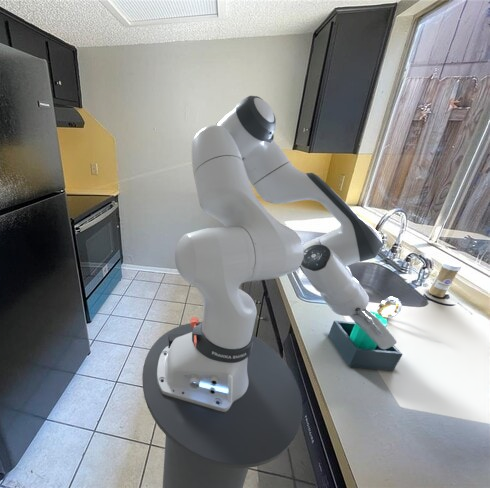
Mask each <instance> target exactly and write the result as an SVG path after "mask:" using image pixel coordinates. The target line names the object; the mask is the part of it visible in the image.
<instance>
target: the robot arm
mask: <svg viewBox="0 0 490 488" xmlns="http://www.w3.org/2000/svg"><path fill="white" fill-rule="evenodd" d="M276 119H277V118H276V115H275V113H274V111H273V109H272V107H271V106H270V104H269V103H268V102H267V101H266V100H264V99H263V98H261V97H260V96H257V95H248V96H246V97H245V98H243V99H242V100H241V101H239V102H238V103H237V104H236V105H235V107H234V108H233V109H231V110H230V111H229V112H227V113H226V114H225V115H224V116H223V117H222V118H221V119H220V120H219V121H217V123H216V124H211V125H207V126H205V127H203V128H201V129H200V130H199V131H198V132H196V134H195V136H194V137H193V139H192V142H191V166H192V173H193V179H194V183H195V188H196V193H197V198H198V204H199V206H200V208H201V210H202V211H203V212H204V213H205V214H206V215H207V216H209V217H210V218H213V219H214V220H216V221H217V222H220V223H221V224H222V225H223V226H224V227H222V226H221V227H207V228H202V229H199V230H194V231H191V232H188V233H184V234H183V235H182V236H181V237H180V239H179V241H177V245H176V247H175V251H174V263H175V268H176V270H177V272H178V274H179V275H180V277H181V278H182V279H183V280H184V281H185V282H186V283H188V284H189V285H191V286H193V287H194V288H195V289H196V290H197V291H198V292H199V293H200V295H201V298H202V302H203V306H202V307H203V311H202V321H200V320H199V318H198V317H197V316H192V317H191V318H190V323H191V327H192V328H193V331H192V332H191V333H188V334H185V335H184V334H169V339H168V341H169V346H167V347H166V348H165V349H164V350H163V351H162V353H161V355H160V358H159V361H158V367H157V382H158V386H159V389H160V391H161V392H162V394H164V395H167V396H171V397H174V398H177V399H181V400H184V401H188V402H191V403H194V404H198V405H201V406H205V407H208V408H211V409H215V410H218V411H222V412H226V411H228V410H229V408H230V407H231V405H232V403H233V402H234V401H235V400H237V399H239V398H240V397H242V396H243V395H244V394H245V392H246V390H247V388H248V382H249V381H248V374H247V360H248V357H249V355H250V352H251V349H252V344H253V336H252V335H253V332H254V327H255V323H256V319H257V314H258V311H257V306H256V303H255V301H254V299H253V298H252V297H251V296H250V295H249V293H247V292H246V291H244V290H243V289H240V286H241V285H242V284H244V283H248V282H257V281H266V280H267V281H269V280H274V279H275V280H276V279H278V278H281V277H285V276H287V275H289V274H293V273H294V272H296V271H298V270H299V269H300V270H301V272H302V273H303V275H304V276H305V278H306V279H307V280H308V282H309V283H310V285H311V286H312V287H313V288H314V289H315V290H316V291H317V292H319V293H320V297H321V298H322V300H323V301H324V302H325V303H326V305H327V306H328V307H329V308H330V310H331V311H332V312H333V313H335V314H337V315H339V316H343V317H349V318H350V319H351V320H352V322H355V323H356V324H357V325H358V326H359V327H360V328H361V329H362V330H363V331H364V332H365V333H366V334H367V335H368V336H369V337H370V338H371V339H372V340H373V341H374V342H375V343H376V344H377V345H378V346H379V347H380V348H381V349H387V348H390V347H392V346H393V345H394V346H395V345H396V344H397V342H398V341H397V340H396V338H395V336H393V334H392V333H391V332H390V331H389V329H388V328H387V327H385V326H384V325H383V324H382V322H381V321H380V320H379V319H377V318H376V317H375V316H374V315H373V314H372V313H371V312H370V311H371V310H369V309H368V308H367V307H368V306H369V303H370V297H369V295H368V293H367V292H366V290H365V289H364V288H363V286H362V285H361V283H360V282H359V280H357V278H356V277H354V276H353V273H352V271H351V269H350V268H349V266H351V265H354V264H356V263H361V262H364V261H368V260H372V259H375V258H377V256H378V255H379V254H380V252H381V250H382V249H383V246H384V243H383V239H382V237H381V235H380V234H379V232H378V231H377V230H376V229H375V228H374V227H373V226H372V225H371V224H370V223H369V222H367V221H366V220H364V219H363V218H362V217H360V216H359V215H358V214H357V213H356V212H355V210H354V209H352V208H351V206H350V205H349V204H348V203H346V202H345V201H344V200H343V198H341V196H340V195H339V194H338V193H336V191H335V190H334V189H333V188H332V187H331V186H329V185H328V183H327V182H326V181H324V180H323V178H321V177H320V176H318V174H316V173H314V172H303V171H301V170H299V169H298V168H297V167H295V165H293V163H292V162H291V160H290V159H289V158H288V156H287V155H286V154H285V152H284V151H283V150H282V148H281V147H280V146H279V145H278V144H277V142H276V141H275V140H274V133H275V131H276ZM253 188H254V190H253ZM254 191H255V192H256V193H257V195H258V196H259V198H261V199H262V200H263V201H265V202H267V203H268V204H269V203H270V204H275V205H281V204H290V203H294V202H300V201H315V202H317V203H320V204H321V205H322V206H323V207H324V208H325V209H326V210H327V211H328V212H329V213H330V214H331V215H332V216H333V217H334V219H336V221H338V223H339V224H340V226H339V227H337V228H336V229H334V230H331V231H329V232H327V233H325V234H322V235H320V236H317V237H314V238H313V239H310V240H308V241H306V242H304V243H303V241H302V239H301V237H300V236H299V234H298V233H297V232H296V231H295V230H294V229H292V228H290V227H288V226H286V225H284V224H283V223H281V222H280V221H279V220H277V219H276V218H275V216H272V214H271V213H270V212H269V211H268V210H267V209H266V208H265V207H264V205H263V204H262V203H261V201H260V200H259V198H258V197H257V196H256V194H255V192H254ZM198 322H201V323H200V324H199V323H198ZM161 381H163V382H161ZM216 403H219V404H216Z"/></svg>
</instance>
